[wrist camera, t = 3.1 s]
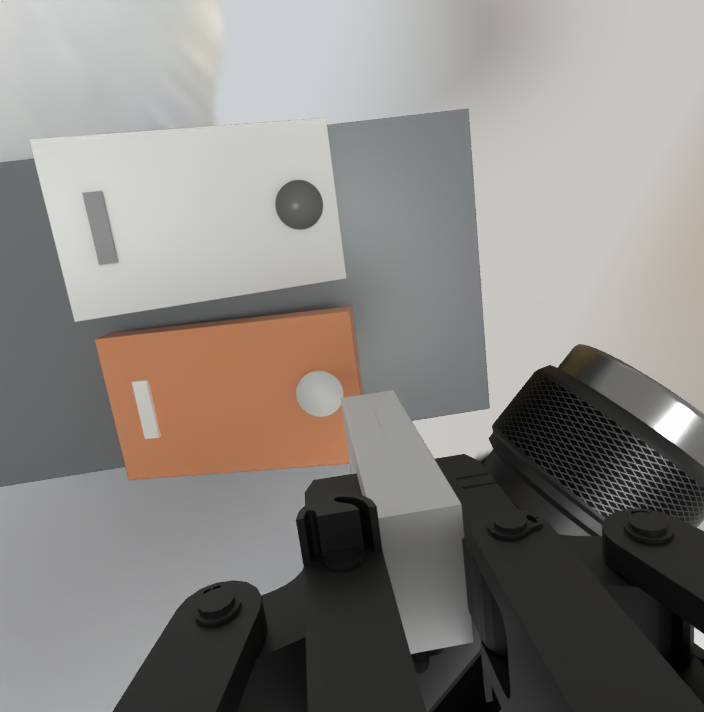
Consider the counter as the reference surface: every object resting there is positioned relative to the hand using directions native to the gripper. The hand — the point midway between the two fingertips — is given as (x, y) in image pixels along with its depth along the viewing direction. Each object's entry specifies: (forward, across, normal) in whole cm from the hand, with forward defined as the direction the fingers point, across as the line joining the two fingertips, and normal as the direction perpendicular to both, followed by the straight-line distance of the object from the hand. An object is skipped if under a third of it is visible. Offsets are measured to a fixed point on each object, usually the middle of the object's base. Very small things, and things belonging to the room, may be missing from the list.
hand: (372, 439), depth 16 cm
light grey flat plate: (+7, -5, +7) cm, 11 cm away
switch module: (+14, -8, +3) cm, 16 cm away
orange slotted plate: (+7, -5, 0) cm, 8 cm away
